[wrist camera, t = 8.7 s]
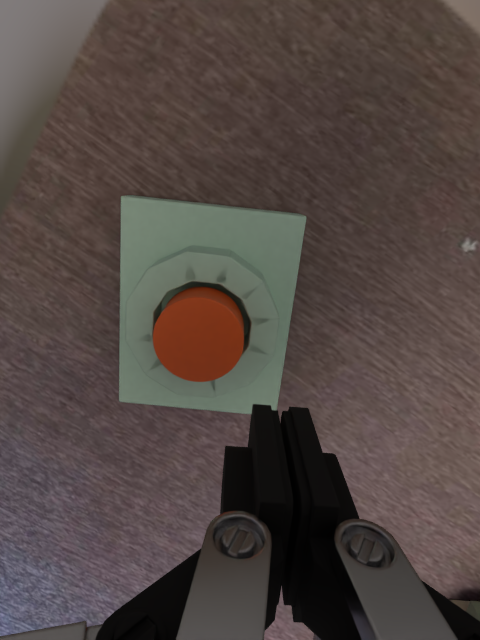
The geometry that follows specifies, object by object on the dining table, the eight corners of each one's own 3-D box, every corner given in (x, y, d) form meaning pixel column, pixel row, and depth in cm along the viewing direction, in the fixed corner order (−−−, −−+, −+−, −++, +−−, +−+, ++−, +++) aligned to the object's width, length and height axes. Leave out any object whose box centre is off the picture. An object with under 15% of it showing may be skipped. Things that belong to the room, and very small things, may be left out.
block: (131, 195, 18) (106, 196, 15) (301, 213, 19) (314, 219, 15) (127, 385, 22) (107, 422, 18) (273, 400, 22) (278, 438, 19)
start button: (162, 282, 17) (154, 292, 15) (248, 290, 17) (248, 302, 15) (159, 360, 18) (150, 378, 16) (239, 367, 18) (239, 386, 16)
